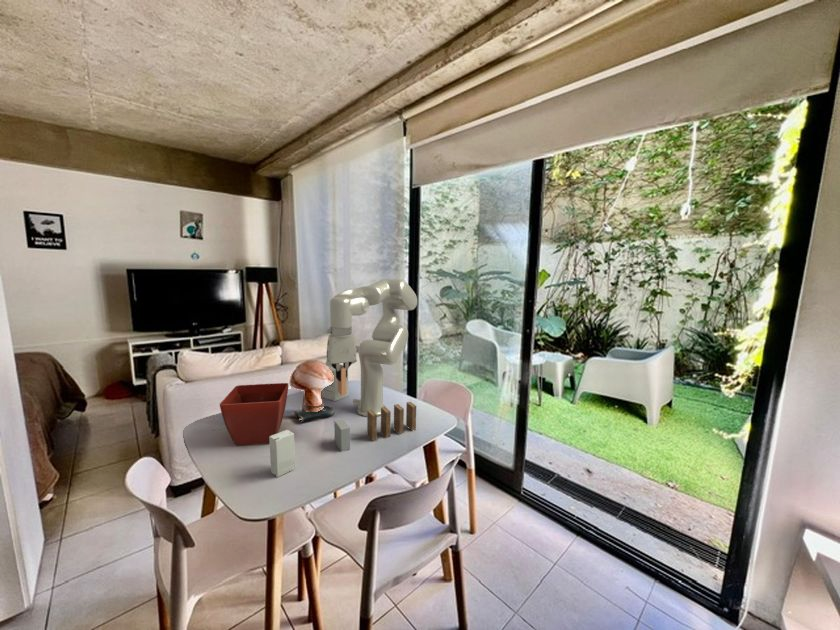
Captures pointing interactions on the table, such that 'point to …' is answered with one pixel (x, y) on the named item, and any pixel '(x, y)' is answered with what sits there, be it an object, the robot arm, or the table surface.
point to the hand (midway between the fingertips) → (341, 379)
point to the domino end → (342, 381)
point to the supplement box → (334, 388)
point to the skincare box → (282, 452)
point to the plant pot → (254, 412)
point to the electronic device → (315, 414)
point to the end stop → (342, 434)
